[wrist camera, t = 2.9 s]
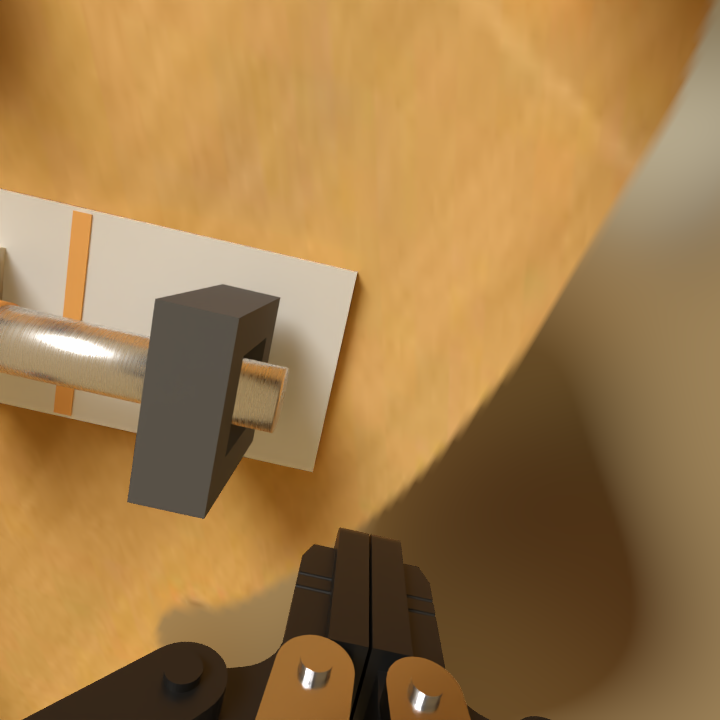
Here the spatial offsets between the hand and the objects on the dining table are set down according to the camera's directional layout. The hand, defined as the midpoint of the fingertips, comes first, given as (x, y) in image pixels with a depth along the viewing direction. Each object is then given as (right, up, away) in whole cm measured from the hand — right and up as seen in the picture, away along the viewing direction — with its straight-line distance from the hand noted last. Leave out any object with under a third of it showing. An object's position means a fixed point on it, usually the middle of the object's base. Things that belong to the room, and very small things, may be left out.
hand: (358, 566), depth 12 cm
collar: (-6, +5, +14) cm, 16 cm away
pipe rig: (-12, +7, +17) cm, 22 cm away
